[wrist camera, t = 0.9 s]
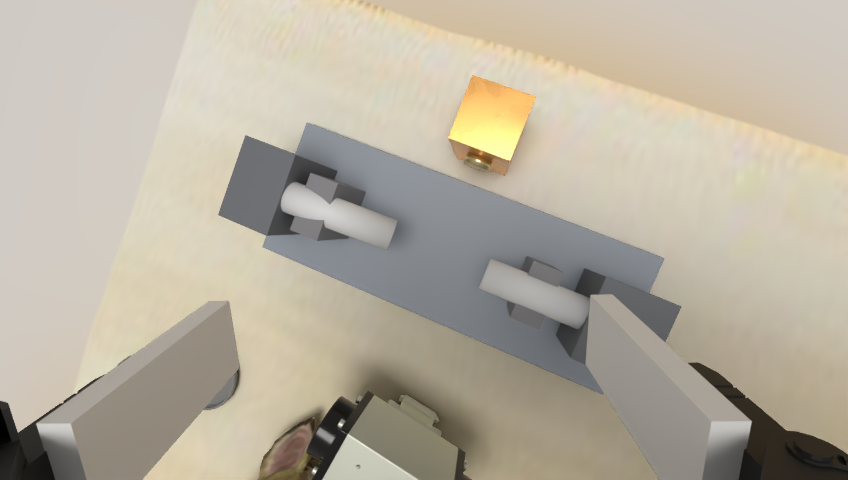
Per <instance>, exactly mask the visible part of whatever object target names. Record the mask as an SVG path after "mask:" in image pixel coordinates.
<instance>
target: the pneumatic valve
mask: <svg viewBox="0 0 848 480" xmlns="http://www.w3.org/2000/svg"><path fill="white" fill-rule="evenodd" d="M399 401H400V403H401V404H400V405H399V404H397V403H396V402H394V401H393V400H391V399H389V401H388V402H387V403H386V402H385V401H383V400H382V399H380V398H378V397H377V396H375V395H374V394H372V393H371V392H369V391H367V393H366V394H365V396H364V397H361V396H359V397H358V398H357V400H356V403H358V405H357V406H356V405H355V404H353V403H352V402H350V401H349V400H347V399H346V398H344V397H342V396H341V397H339V398H338V399H337V401H336V402H335V403H334V404H333V406H332V407H331V409H330V410H329V411H328V413H327V414H326V416H325V417H324V419H323V420H322V422H321V424H320V425H319V427H318V428H317V430H316V432H315V434H314V435H313V437H312V439H311V441H310V443H309V445H308V447H307V449H306V453H307V454H308V455H310V456H311V457H313V458H314V459H316V460H317V461H319V462H320V463H321V464H320V466H317V465H315V467H314V468H313V470H312V472H311V473H312V474H313V475H314V477H313V478H312V480H472V479H470V478H469V477H467V476H466V475H464V474H463V471H465V470H466V468H467V463H465V462H464V461H465V452H464V451H462V450H461V449H459V448H457V447H456V446H454V445H453V444H451V443H450V442H448V441H446V440H445V439H443V438H442V437H440V436H441V433H442V432H441V431H440V430H439V429H437V428H435V427H434V426H432V425H433V422H434V423H435V424H436V423H438V422H439V417H437V416H436V413H435V412H434V411H432V410H431V409H429V408H427V407H426V406H424V405H423V404H421V403H419V402H418V401H416V400H415V399H413V398H411V397H410V396H408V395H407V394H406V395H401V396H400V398H399Z"/></svg>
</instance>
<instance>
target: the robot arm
mask: <svg viewBox="0 0 848 480" xmlns="http://www.w3.org/2000/svg"><path fill="white" fill-rule="evenodd" d="M586 366H587V367H588V369H589V371H590V372H591V374H592V375H593V377H594V378H595V380H596V381H597V383H598V385H599V386H600V388H601V389H602V391H603V392H604V394H605V396H606V397H607V399H608V400H609V402H610V403H611V405H612V406H613V408H614V410H615V411H616V413H617V414H618V416H619V417H620V419H621V421H622V422H623V424H624V425H625V427H626V428H627V430H628V431H629V433H630V435H631V436H632V438H633V439H634V441H635V442H636V444H637V445H638V447H639V449H640V450H641V452H642V453H643V455H644V456H645V458H646V460H647V461H648V463H649V464H650V466H651V467H652V469H653V470H654V472H655V474H656V475H657V477H658V478H659V480H848V455H847V454H846V453H845V452H844V451H842V450H840V449H838V448H837V447H835V446H833V445H832V444H830V443H828V442H826V441H823V440H821V439H818V438H816V437H814V436H811V435H807V434H803V433H799V432H795V431H786V430H785V429H784V428H783V427H782V426H780V425H779V424H778V423H777V422H776V421H775V420H773V419H772V418H771V417H770V416H769V415H767V414H766V413H765V412H764V411H763V410H762V409H760V408H759V407H758V406H757V405H756V404H754V403H753V402H752V401H751V400H750V399H749V398H745V395H744V394H743V393H741V392H740V391H739V390H738V389H737V388H733V385H732V384H731V383H730V382H728V381H727V380H726V379H725V378H724V377H723V376H721V375H720V374H719V373H717V372H715V371H714V370H712V369H710V368H708V367H706V366H704V365H702V364H700V363H687V362H686V361H685V360H684V359H683V358H682V357H681V356H679V355H678V354H677V353H676V352H675V351H674V350H673V349H672V348H671V347H670V346H669V345H667V344H666V343H665V342H664V341H663V340H662V339H661V338H660V337H659V336H658V335H656V334H655V333H654V332H653V331H652V330H651V329H650V328H649V327H648V326H647V325H645V324H644V323H643V322H642V321H641V320H640V319H639V318H638V317H637V316H636V315H634V314H633V313H632V312H631V311H630V310H629V309H628V308H627V307H626V306H625V305H623V304H622V303H621V302H620V301H619V300H618V299H617V298H616V297H615V296H614V295H612V294H604V295H590V306H589V321H588V335H587V349H586ZM239 368H240V366H239V360H238V353H237V347H236V341H235V335H234V329H233V322H232V316H231V310H230V304H229V301H209V302H207V303H206V304H204V305H203V306H202V307H200V308H199V309H197V310H196V311H195V312H193V313H192V314H190V315H189V316H187V317H186V318H185V319H183V320H182V321H180V322H179V323H178V324H176V325H175V326H173V327H172V328H170V329H169V330H168V331H166V332H165V333H163V334H162V335H161V336H159V337H158V338H156V339H155V340H154V341H152V342H151V343H149V344H148V345H146V346H145V347H144V348H142V349H141V350H139V351H138V352H137V353H135V354H134V355H132V356H131V357H129V358H128V359H127V360H125V361H124V362H122V363H121V364H120V365H118V366H117V367H115V368H114V369H113V370H111V371H110V372H108V373H107V374H105V375H103V376H101V377H99V378H97V379H95V380H93V381H92V382H90V383H89V384H87V385H86V386H85V387H83V388H82V389H80V390H79V391H78V393H77V394H73V395H72V396H70V397H69V398H67V399H66V400H65V401H64V403H63V404H59V405H57V406H56V407H55V408H53V409H52V410H50V411H49V412H47V413H46V414H44V415H43V416H42V417H40V418H39V419H37V420H36V421H34V422H33V423H32V424H30V425H29V426H27V427H26V428H24V429H23V430H22V431H20V432H19V433H18V432H17V429H16V426H15V423H14V420H13V417H12V414H11V411H10V408H9V405H8V403H6V402H2V401H0V480H142V479H143V478H144V477H145V476H146V475H147V474H148V472H149V471H150V470H151V469H152V468H153V467H154V465H155V464H156V463H157V462H158V461H159V460H160V459H161V457H162V456H163V455H164V454H165V453H166V452H167V451H168V449H169V448H170V447H171V446H172V445H173V444H174V443H175V441H176V440H177V439H178V438H179V437H180V436H181V435H182V433H183V432H184V431H185V430H186V429H187V428H188V426H189V425H190V424H191V423H192V422H193V421H194V420H195V418H196V417H197V416H198V415H199V414H200V413H201V412H202V410H203V409H204V408H205V407H206V406H207V405H208V404H209V402H210V401H211V400H212V399H213V398H214V397H215V396H216V394H217V393H218V392H219V391H220V390H221V389H222V387H223V386H224V385H225V384H226V383H227V382H228V381H229V379H230V378H231V377H232V376H233V375H234V374H235V373H236V371H237V370H238V369H239Z"/></svg>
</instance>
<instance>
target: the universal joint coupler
mask: <svg viewBox="0 0 848 480" xmlns="http://www.w3.org/2000/svg"><path fill="white" fill-rule="evenodd" d="M534 100H535V96H532V95H529V94H526V93H523V92H520V91H518V90H515V89H512V88H509V87H506V86H503V85H500V84H497V83H494V82H491V81H488V80H485V79H482V78H480V77H477V76H474V75H472V78H471V81H470V83H469V86H468V88H467V91H466V93H465V96H464V99H463V101H462V104H461V106H460V109H459V111H458V114H457V117H456V119H455V122H454V124H453V127H452V129H451V132H450V135H449V137H448V139H449V141H450V143H451V145H452V148H453V150H454V152H455V155H456V157H457V158H459V159H461V160H464V163H465V164H467V165H469V166H471V167H474V168H476V169H479V170H482V171H486V172H489V170H491V171H493V172H496V173H499V174H502V175H504V176H505V174H506V171H507V169H508V167H509V164H510V162H511V159H512V157H513V154H514V152H515V149H516V147H517V144H518V142H519V139H520V137H521V134H522V132H523V130H524V127H525V124H526V122H527V119H528V116H529V114H530V111H531V108H532V106H533V103H534Z"/></svg>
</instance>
